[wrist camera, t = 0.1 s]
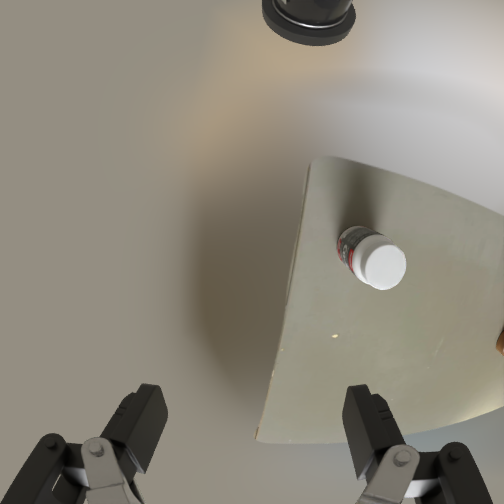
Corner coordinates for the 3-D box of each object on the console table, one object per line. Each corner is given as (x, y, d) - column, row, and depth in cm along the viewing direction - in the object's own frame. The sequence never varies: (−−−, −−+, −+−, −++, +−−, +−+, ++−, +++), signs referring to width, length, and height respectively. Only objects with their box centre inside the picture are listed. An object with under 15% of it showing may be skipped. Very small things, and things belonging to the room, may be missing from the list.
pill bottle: (328, 239, 29) (350, 259, 21) (363, 217, 28) (396, 228, 20) (348, 274, 30) (374, 304, 22) (381, 252, 29) (416, 274, 21)
